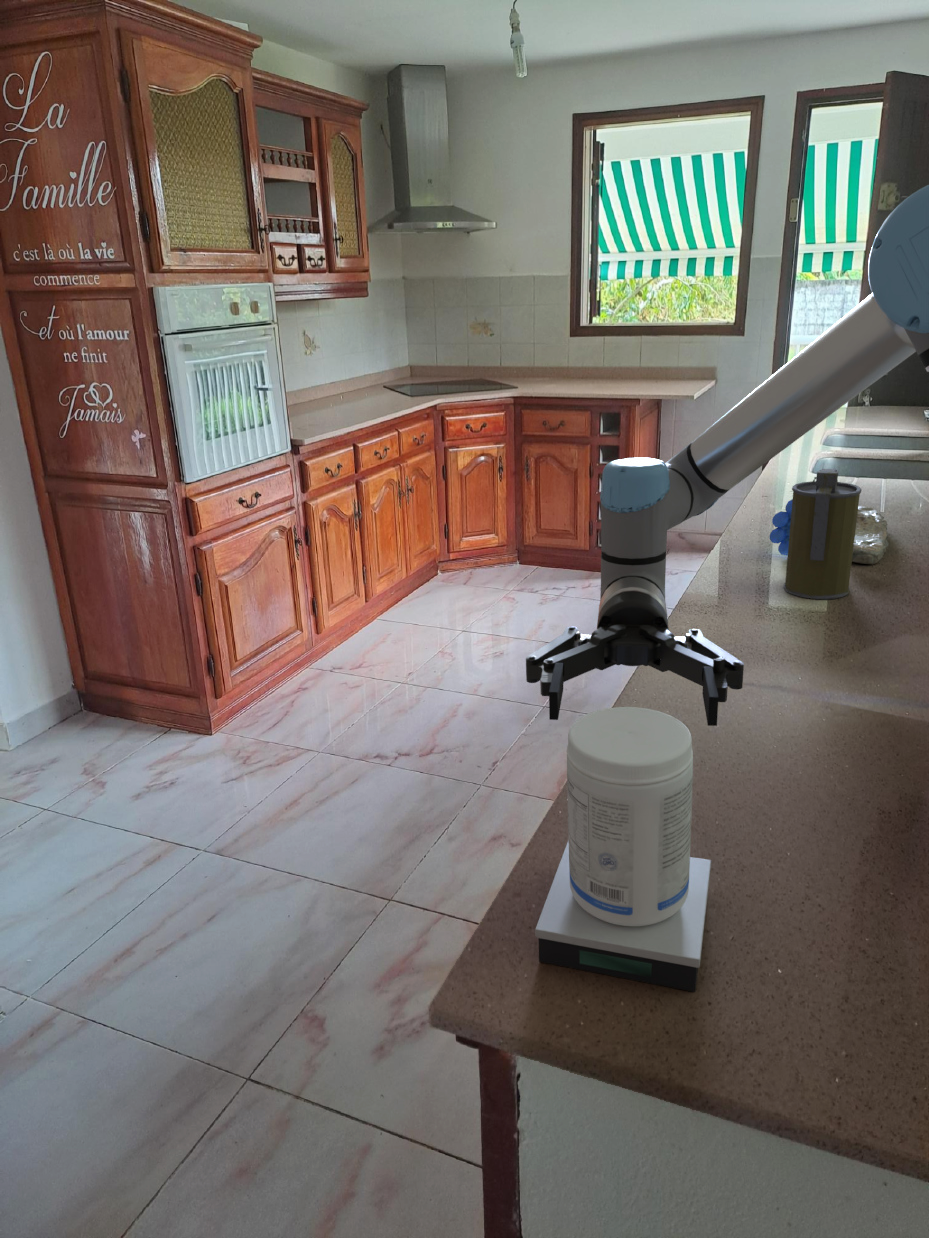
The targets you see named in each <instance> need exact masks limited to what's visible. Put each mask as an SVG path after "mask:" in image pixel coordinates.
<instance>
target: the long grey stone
mask: <svg viewBox="0 0 929 1238" xmlns="http://www.w3.org/2000/svg"><path fill="white" fill-rule="evenodd" d="M887 526H888V521H887V520H886V519H885V516H883V515H882V513H880V512H879V511H878V510H876V509H874V508H873V507H871V506H865V505H858V513H857V522H856V530H855V538H854V547H853V555H852V563H856V564H864V565H875V564H877V563H879V562H880V560H882V559H883V558H884V555H885V554H886V553H887V548H888V546H889V545H890V543H889V541H888V539H887V536H888V531H887V530H888V527H887Z"/></svg>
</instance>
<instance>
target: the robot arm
mask: <svg viewBox="0 0 929 1238" xmlns="http://www.w3.org/2000/svg"><path fill="white" fill-rule="evenodd" d="M871 246H872V247H871V249H870V253H869V257H868V266H867V275H868V283H869V288H870V291H871V294H869V295H868V296H867V297H865V299H863V300H862V301H861V302H859V304H857V305H856V306H855V307H853V308H852V309H851V310H850V311H849V312H848V313H846V314H845V315H843V317H842V318H840V319H839V320H837V321H836V323H834V324H833V325H831V326H830V327H829V328H828V329H827V330H826V331H824V332H823V333H822V334H821V335H820V336H818V337H817V338H816V339H815V340H814V341H813V342H811V343H810V344H809V345H807V346H806V347H805V348H804V349H802V350H801V351H800V352H799V353H798V354H796V355H795V356H794V357H793V358H792V359H791V360H789V361H788V362H787V363H785V364H784V365H783V366H782V367H780V368H779V369H778V370H777V371H776V372H774V373H773V374H772V375H771V376H769V378H768V379H766V380H765V381H764V382H763V383H761V384H760V385H759V386H757V387H756V388H755V389H754V390H753V391H751V393H749V394H748V395H747V396H746V397H744V398H743V399H742V400H741V401H739V402H738V403H737V404H735V406H733V407H732V408H731V409H730V410H728V411H727V412H726V413H725V414H724V415H723V416H721V417H720V418H719V419H717V421H715V422H714V423H713V424H712V425H710V426H709V427H708V428H706V430H704V431H703V432H702V433H700V434H699V435H698V436H697V437H696V438H694V439H693V440H692V441H691V442H690V443H689V444H687V445H686V446H685V447H683V448H682V449H681V450H680V451H679V452H677V453H676V454H675V455H674V456H672V457H671V458H670V459H669V460H668V461H666V462H664V461H663V460H660V459H657V458H651V457H627V458H622V459H615V460H611V461H610V462H608V463H606V465H605V466H604V468H603V469H602V477H601V491H600V494H599V501H600V549H601V550H600V551H601V553H600V587H599V588H600V589H599V591H600V596H599V597H600V599H599V604H598V613H597V624H596V629H595V630H594V631H593V632H591V634H585V633H584V634H583V633H582V632H580V631H578V630H579V629H578V627H576V626H575V625H574V626H573V625H572V626H566V628H565V630H564V631H563V633H562V634H561V635H559V636H557V637H556V638H554V639H553V640H551V641H549V642H548V643H546V644H545V645H543V646H541V647H539V648H538V649H537V650H535V651H533V652H531V653H530V654H528V655H526V657H525V678H526V679H525V681H526V682H527V683H529V684H536V683H538V682H539V683H540V684H539V685H540V688H539V689H540V695H541V696H542V697H548V703H549V704H548V707H549V710H548V714H549V715H548V716H549V719H548V720H551V721H557V720H558V721H559V716H560V711H561V706H562V701H563V694H564V683H565V682H567V681H569V680H572V679H574V678H577V677H579V676H582V675H585V674H587V673H588V672H591V671H593V670H595V669H596V670H599V671H603V670H606V669H608V668H611V667H614V666H615V665H616V666H621V665H622V666H626V667H640V666H644V667H648V666H649V667H651V668H653V669H655V670H657V671H659V672H661V673H665V672H671V673H673V674H675V675H678V676H680V677H682V678H684V679H685V680H688V681H690V682H692V683H694V684H697V685H699V686H701V687H702V692H701V693H702V699H703V705H704V711H705V717H706V723H707V726H710V727H712V726H713V727H717V726H718V714H719V712H718V711H719V703H726V702H727V700H728V688H729V689H731V690H735V691H737V690H741V689H743V685H744V684H743V682H744V671H745V670H744V667H745V662H744V661H742V660H740V659H739V658H737V657H736V656H734V655H732V654H731V653H729V652H728V651H726V650H724V649H723V648H722V647H721V646H719V645H717V644H716V643H714V642H712V641H711V640H709V639H708V638H706V637H705V636H704V634H703V633H702V631H701V629H698V628H691V629H688V633H686V634H685V635H684V636H675V635H674V633H673V632H671V631H670V629H669V620H668V611H667V610H668V609H667V602H666V574H667V573H666V571H667V570H666V569H667V568H666V567H667V543H668V542H667V540H668V531H669V530H671V529H673V528H674V527H677V526H679V525H680V524H682V523H683V522H685V521H687V520H689V519H692V518H694V517H696V516H700V515H702V514H703V513H705V512H706V511H708V510H709V509H710V508H712V507H713V506H714V505H715V503H717V501H718V500H719V499H720V498H721V497H723V496H725V494H726V493H728V492H729V491H730V490H732V489H733V488H734V487H735V486H736V485H739V484H740V483H741V482H742V481H744V480H745V479H747V477H749V476H750V475H751V474H753V473H755V472H756V471H757V470H758V469H760V468H762V466H764V465H765V464H766V463H768V462H769V461H770V460H771V459H773V458H775V457H776V456H777V455H779V454H780V453H781V452H783V451H784V450H786V449H787V448H788V447H789V446H790V445H792V444H794V443H795V442H796V441H797V440H799V439H800V438H801V437H803V436H804V435H806V434H807V433H808V432H809V431H811V430H812V429H814V428H815V427H816V426H818V425H819V424H820V423H822V422H823V421H825V420H826V419H827V418H828V417H830V416H831V415H832V414H834V413H835V412H836V411H838V410H839V409H841V408H842V407H844V406H845V405H846V404H848V403H849V402H850V401H852V400H853V399H854V398H856V397H857V396H858V395H860V394H861V393H862V392H863V391H865V390H866V389H867V388H870V386H871V385H873V384H875V382H877V381H878V380H880V379H881V378H883V377H884V376H885V375H886V374H888V373H889V372H891V371H892V370H893V369H895V368H896V367H897V366H899V365H900V364H901V363H903V362H904V361H906V360H907V359H908V358H910V357H911V356H912V355H913V354H915V353H916V354H917V356H918V357H919V360H920V361H921V363H922V365H923V367H924V369H925V370H926V372H927V373H929V184H927V185H925V186H923V187H921V188H920V189H917V190H916V191H915V192H913V193H911V194H910V195H909V196H908V197H906V198H905V199H904V200H902V201H901V202H900V203H898V205H897V206H896V207H895V208H894V209H893V210H892V211H891V212H890V214H889V215H888V216H887V217H886V218H885V220H884V221H883V223H882V224H881V226H880V228H879V230H878V231H877V234H876V236H875V238H874V240H873V243H872V245H871Z"/></svg>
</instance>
